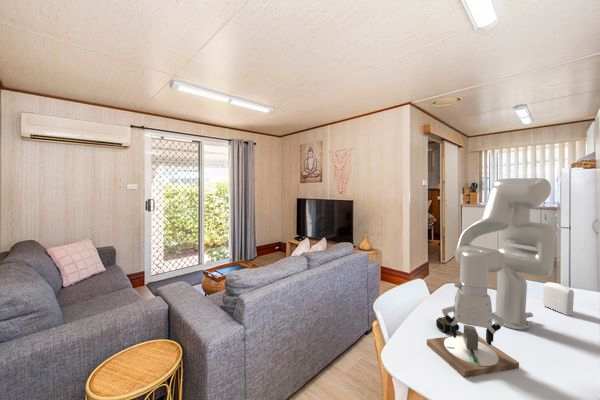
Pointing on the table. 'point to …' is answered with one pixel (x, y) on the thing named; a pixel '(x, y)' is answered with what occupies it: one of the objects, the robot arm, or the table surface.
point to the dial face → (458, 349)
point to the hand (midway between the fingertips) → (470, 339)
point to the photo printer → (558, 298)
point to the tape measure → (444, 325)
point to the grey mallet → (471, 339)
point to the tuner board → (469, 368)
